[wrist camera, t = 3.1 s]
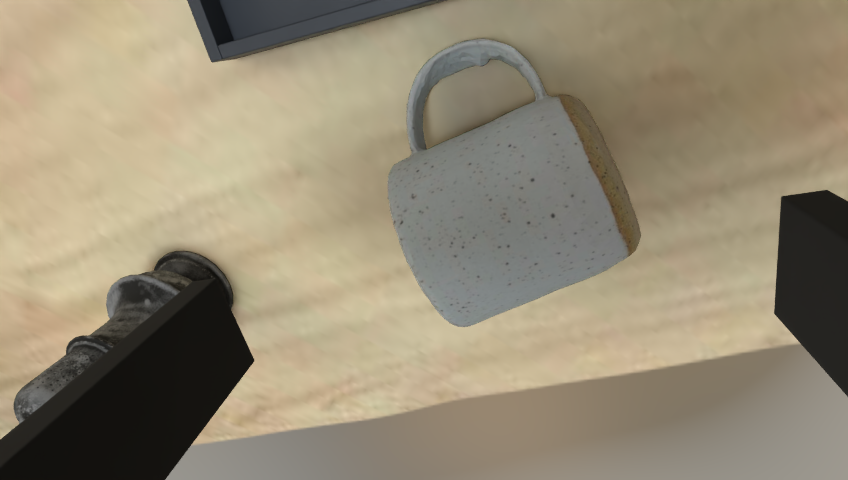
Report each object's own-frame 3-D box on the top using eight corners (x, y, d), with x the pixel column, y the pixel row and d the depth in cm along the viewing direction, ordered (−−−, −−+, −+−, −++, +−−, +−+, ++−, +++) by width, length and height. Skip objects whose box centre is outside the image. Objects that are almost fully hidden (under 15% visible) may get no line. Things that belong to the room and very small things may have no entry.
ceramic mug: (627, 212, 22) (674, 295, 16) (474, 274, 25) (457, 366, 18) (534, -3, 19) (541, -19, 13) (373, 94, 22) (307, 124, 16)
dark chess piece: (206, 342, 31) (44, 511, 21) (134, 281, 30) (-76, 427, 19) (255, 295, 29) (100, 460, 18) (179, 228, 28) (-34, 361, 17)
